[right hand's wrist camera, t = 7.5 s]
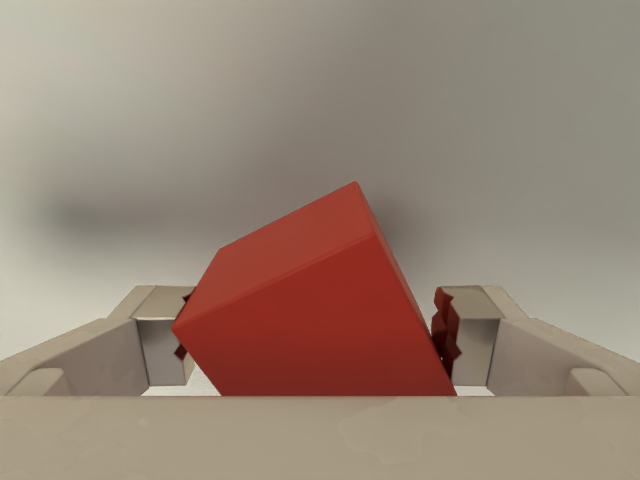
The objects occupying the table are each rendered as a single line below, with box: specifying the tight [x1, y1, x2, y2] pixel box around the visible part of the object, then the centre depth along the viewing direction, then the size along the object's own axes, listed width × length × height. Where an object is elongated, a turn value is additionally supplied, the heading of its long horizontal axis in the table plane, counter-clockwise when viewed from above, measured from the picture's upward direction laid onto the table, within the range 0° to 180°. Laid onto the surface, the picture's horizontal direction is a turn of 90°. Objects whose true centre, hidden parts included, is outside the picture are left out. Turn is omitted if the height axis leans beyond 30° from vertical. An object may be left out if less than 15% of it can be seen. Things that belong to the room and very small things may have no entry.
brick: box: [171, 182, 457, 396], centre depth 10 cm, size 5×4×4 cm
